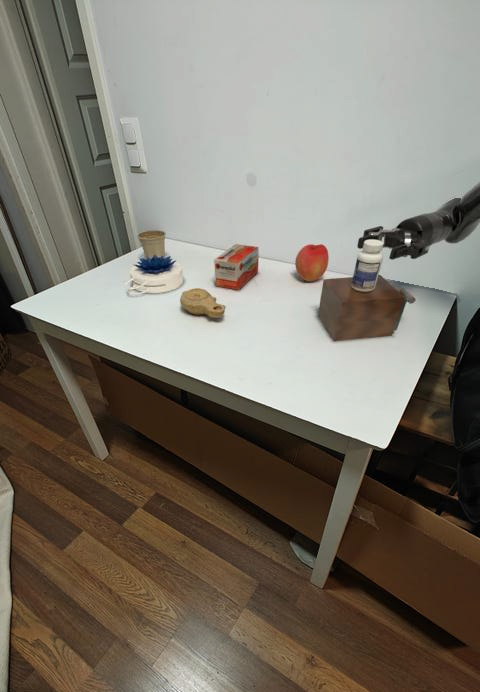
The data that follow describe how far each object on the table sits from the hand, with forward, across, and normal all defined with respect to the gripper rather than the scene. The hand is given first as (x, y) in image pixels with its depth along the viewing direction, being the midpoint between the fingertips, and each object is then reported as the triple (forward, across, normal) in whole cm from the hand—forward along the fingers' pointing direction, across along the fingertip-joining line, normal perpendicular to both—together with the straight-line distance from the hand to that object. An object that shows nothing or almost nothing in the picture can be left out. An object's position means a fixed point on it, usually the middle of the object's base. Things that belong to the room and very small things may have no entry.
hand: (375, 248), depth 74 cm
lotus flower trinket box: (+30, -54, +18) cm, 64 cm away
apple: (-10, -27, +18) cm, 34 cm away
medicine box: (+7, -41, +18) cm, 45 cm away
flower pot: (+20, -71, +18) cm, 76 cm away
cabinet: (+1, 0, +18) cm, 18 cm away
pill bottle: (+1, 0, +8) cm, 8 cm away
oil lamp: (+27, -29, +18) cm, 44 cm away
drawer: (-2, +2, +17) cm, 17 cm away
